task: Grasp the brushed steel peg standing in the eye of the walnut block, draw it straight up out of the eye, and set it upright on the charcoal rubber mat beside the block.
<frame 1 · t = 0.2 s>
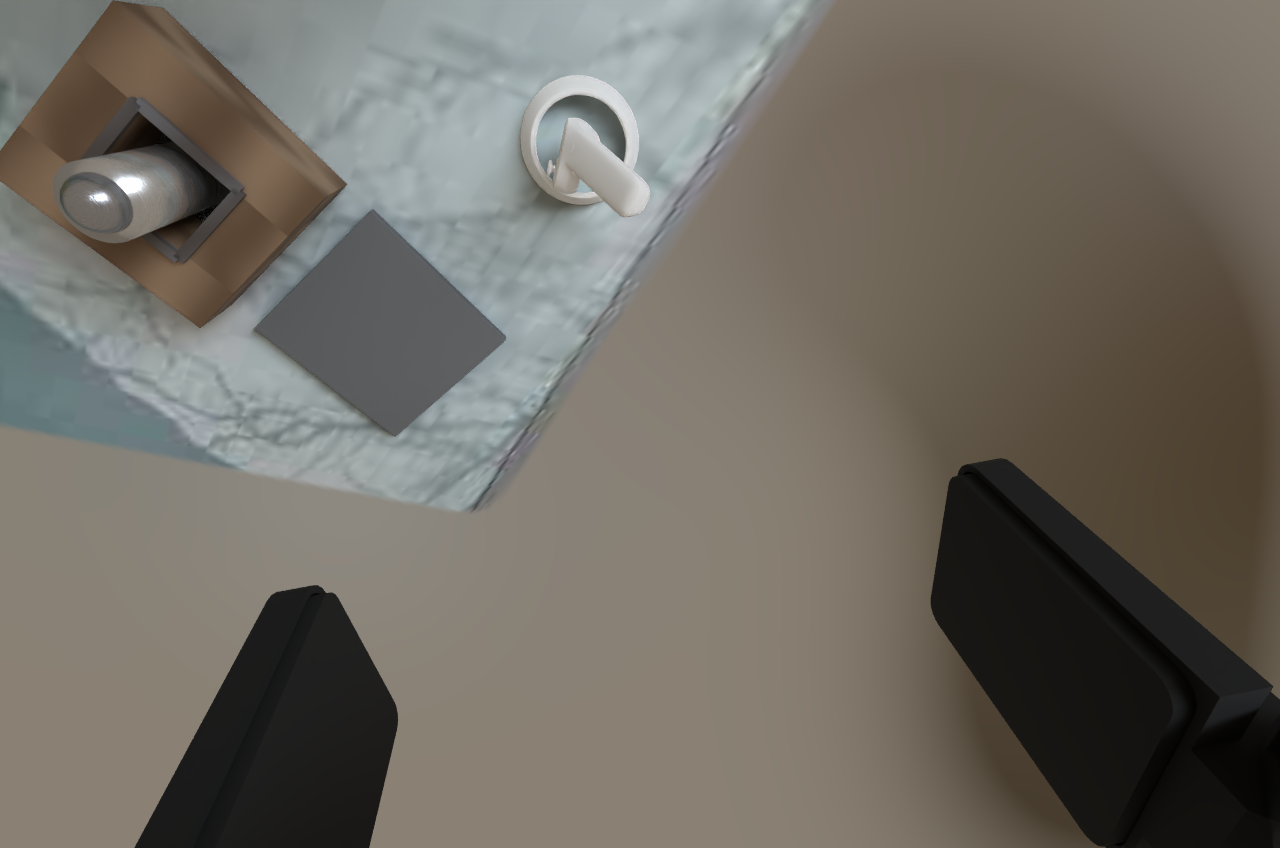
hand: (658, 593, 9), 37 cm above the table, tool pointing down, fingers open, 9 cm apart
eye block: (201, 172, 38), on the table
mat: (386, 330, 44), on the table
steel peg: (150, 187, 33), in the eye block
white ring with handle: (580, 142, 40), on the table
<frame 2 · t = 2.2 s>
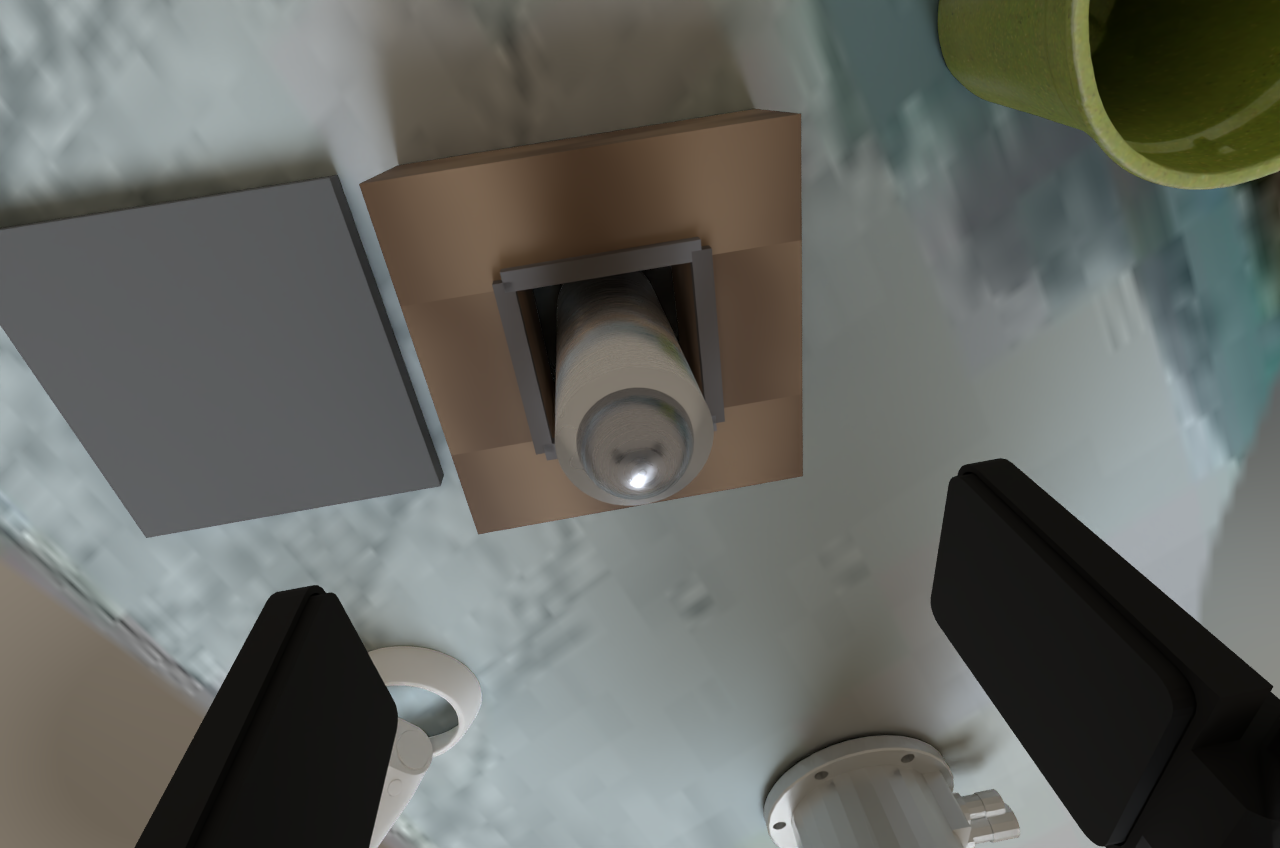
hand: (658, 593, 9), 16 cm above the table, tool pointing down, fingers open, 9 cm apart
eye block: (607, 309, 23), on the table
mat: (236, 371, 23), on the table
steel peg: (620, 368, 18), in the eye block
white ring with handle: (408, 693, 32), on the table
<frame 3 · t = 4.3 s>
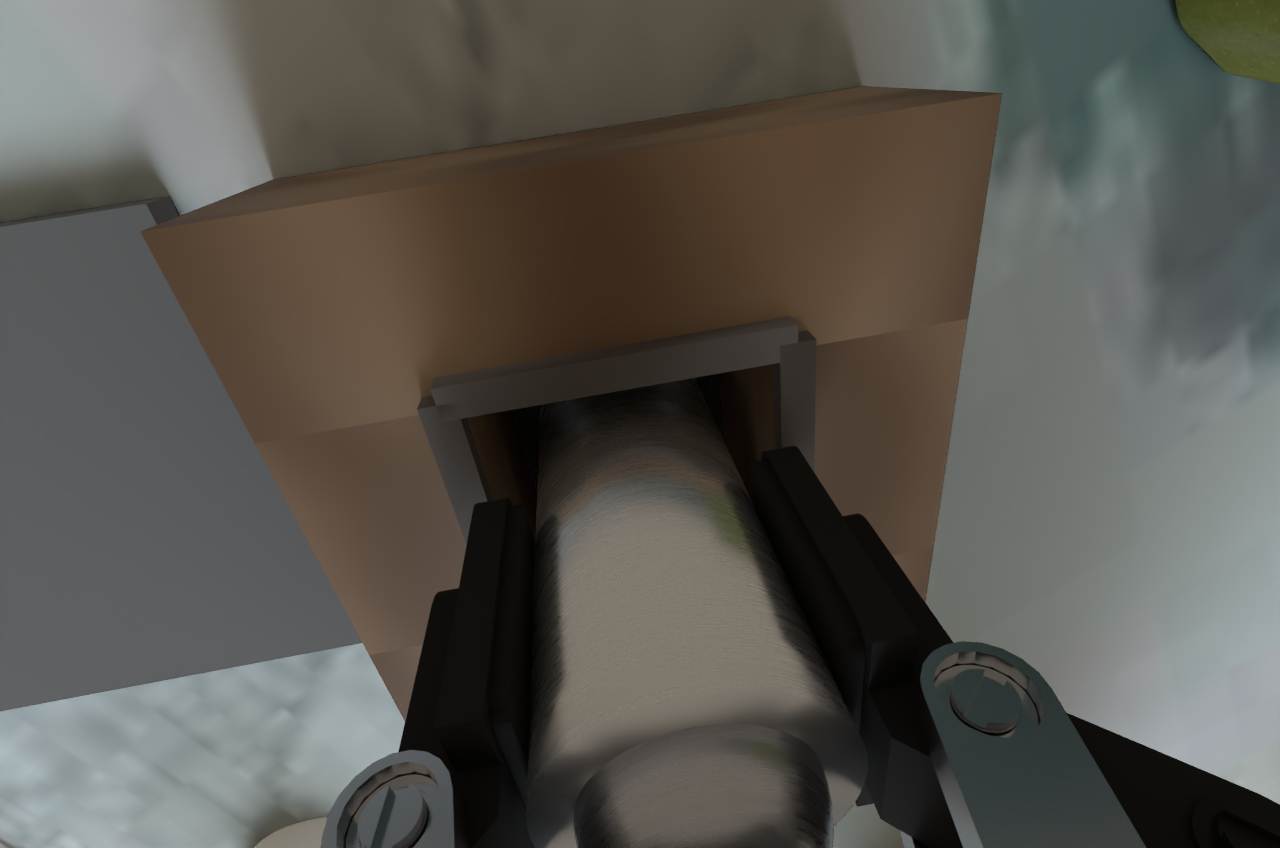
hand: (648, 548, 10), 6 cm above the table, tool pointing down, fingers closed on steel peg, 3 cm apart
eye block: (618, 393, 15), on the table
mat: (47, 494, 15), on the table
steel peg: (648, 544, 10), in the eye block, touching gripper
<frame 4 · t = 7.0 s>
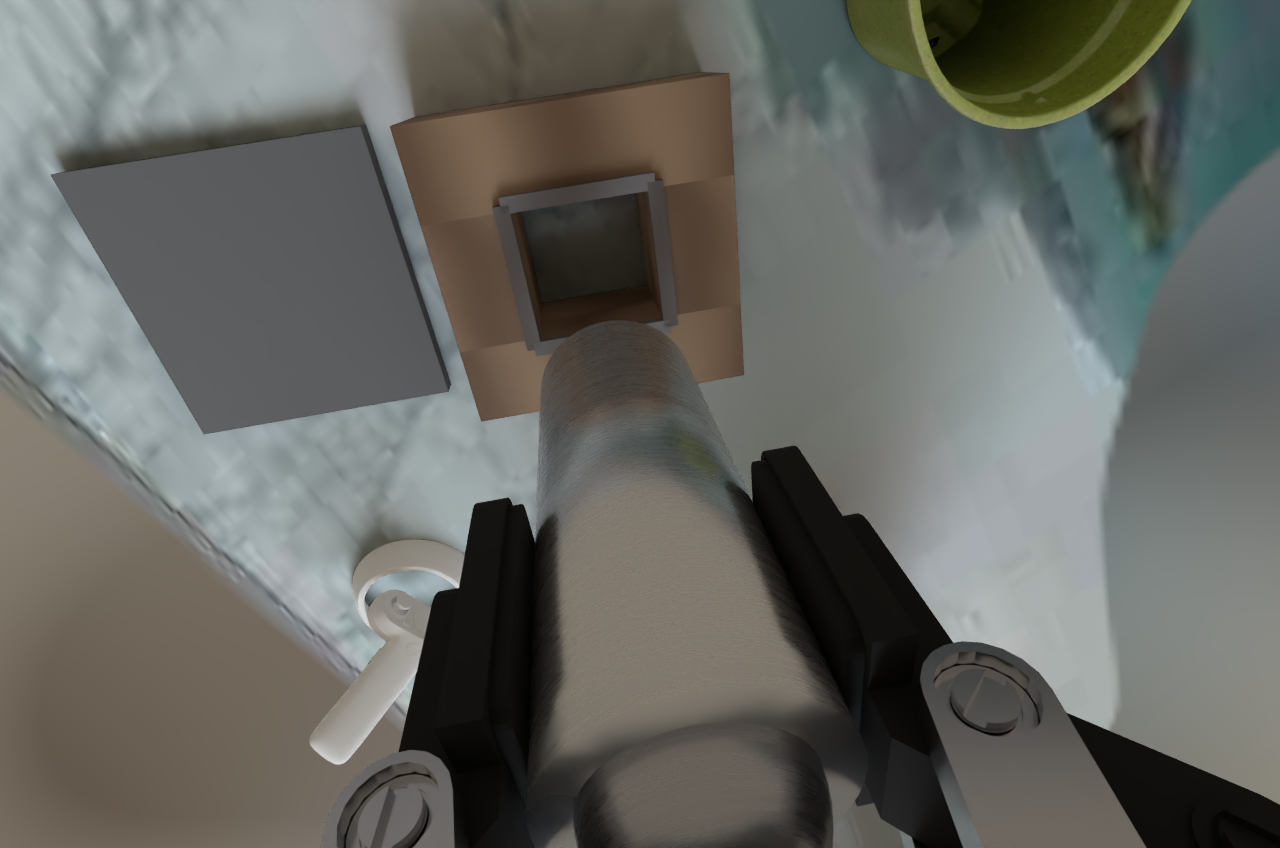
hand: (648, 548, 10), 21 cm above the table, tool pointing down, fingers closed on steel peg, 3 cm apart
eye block: (585, 240, 28), on the table
mat: (280, 290, 28), on the table
steel peg: (648, 543, 10), point 21 cm above the table, touching gripper
white ring with handle: (419, 584, 38), on the table
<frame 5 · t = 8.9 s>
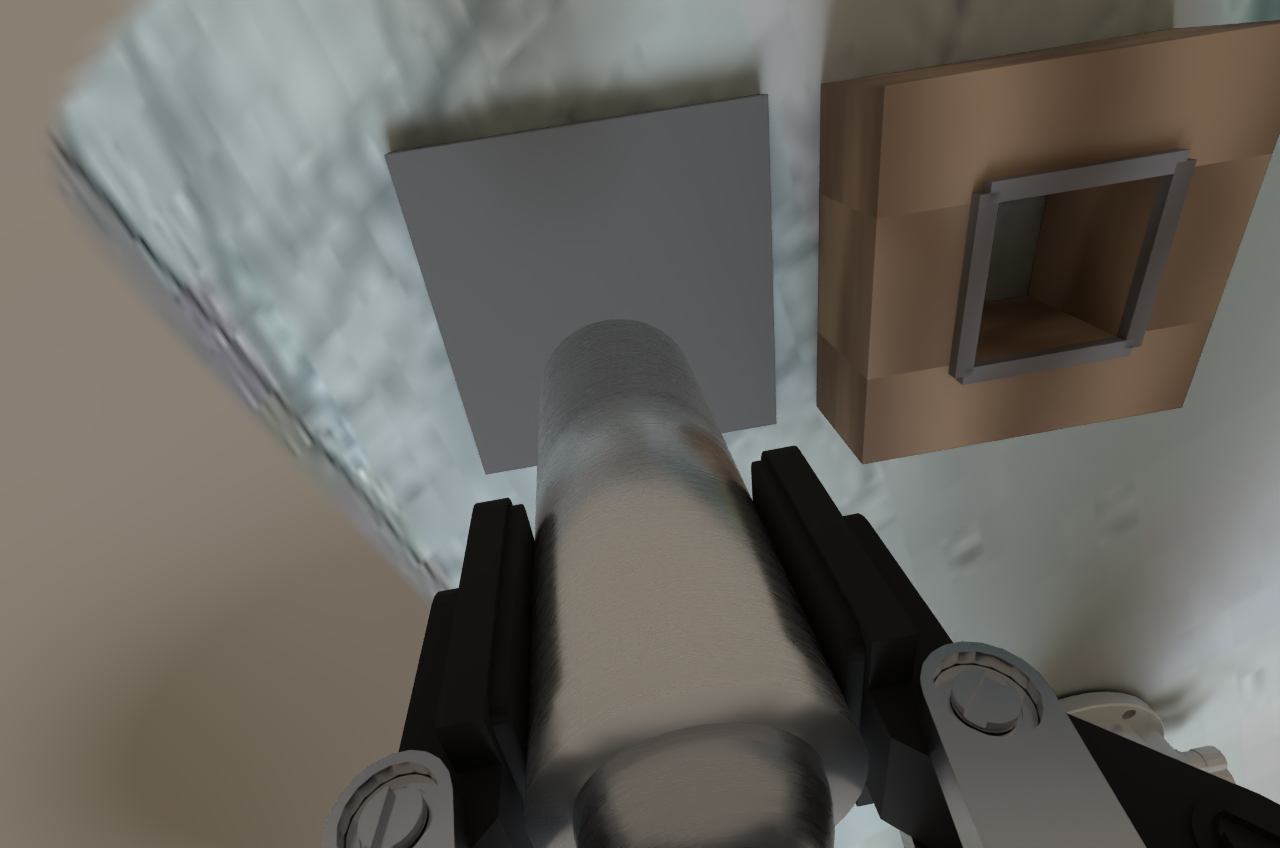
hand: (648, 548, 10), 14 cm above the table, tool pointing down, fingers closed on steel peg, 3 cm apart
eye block: (974, 240, 23), on the table
mat: (607, 301, 23), on the table
steel peg: (647, 542, 10), point 14 cm above the table, touching gripper
when the fingers open (8 cm above the table, at t = 10.1 s): steel peg drops 1 cm, resting on mat.
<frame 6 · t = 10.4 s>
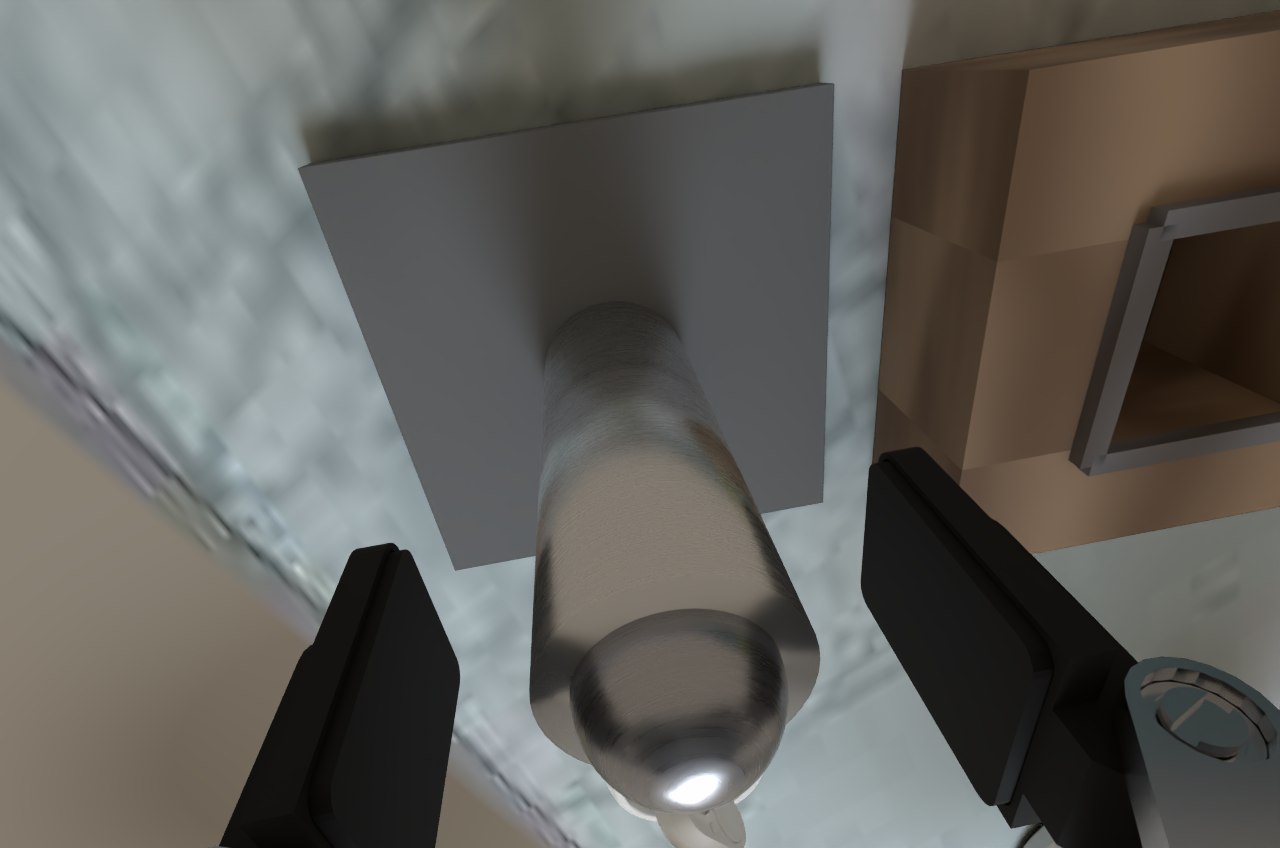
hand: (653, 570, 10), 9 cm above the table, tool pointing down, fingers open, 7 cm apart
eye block: (1083, 274, 18), on the table
mat: (610, 356, 17), on the table
steel peg: (639, 492, 12), on the mat, point 6 cm above the table
white ring with handle: (681, 740, 27), on the table
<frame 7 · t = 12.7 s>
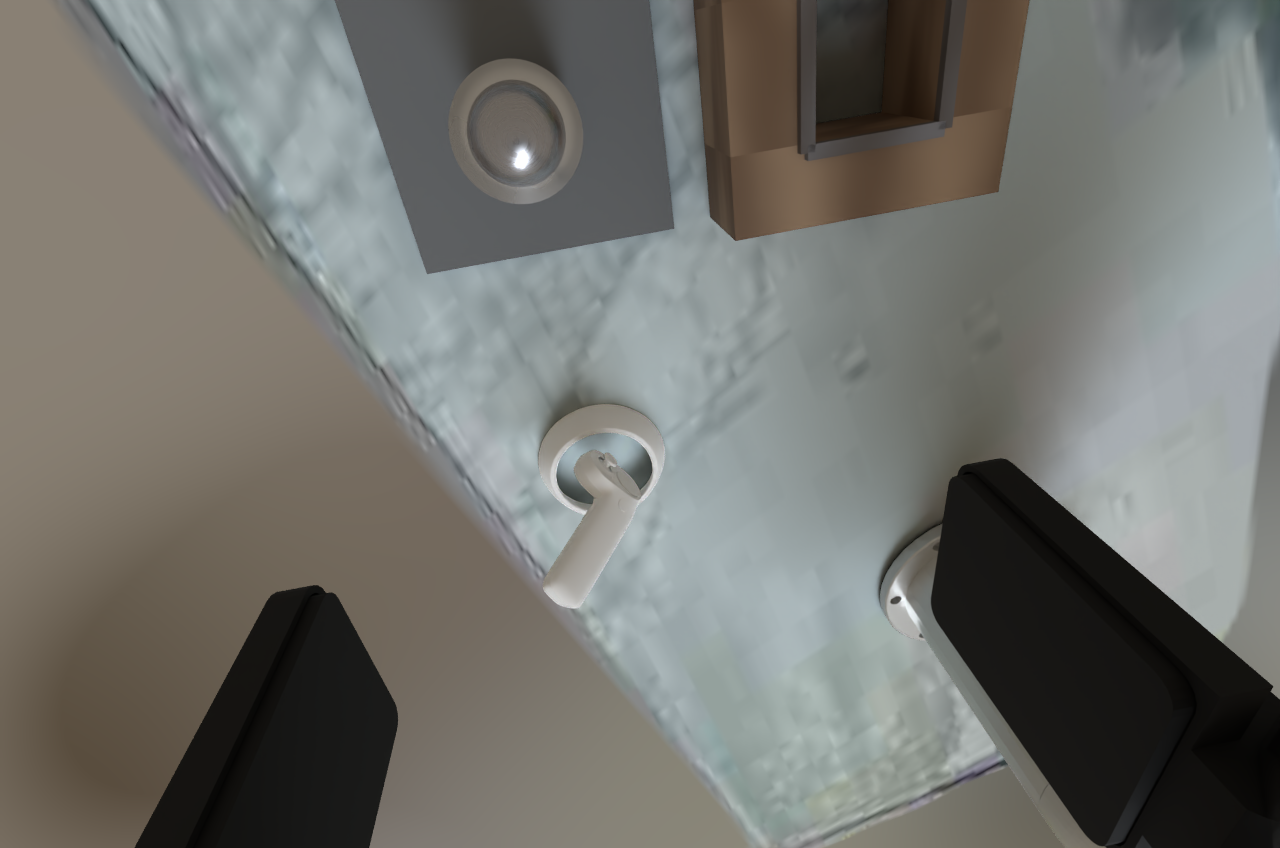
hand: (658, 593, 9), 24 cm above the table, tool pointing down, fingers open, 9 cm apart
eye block: (829, 57, 28), on the table
mat: (521, 111, 27), on the table
steel peg: (520, 123, 21), on the mat, point 6 cm above the table
white ring with handle: (601, 457, 37), on the table
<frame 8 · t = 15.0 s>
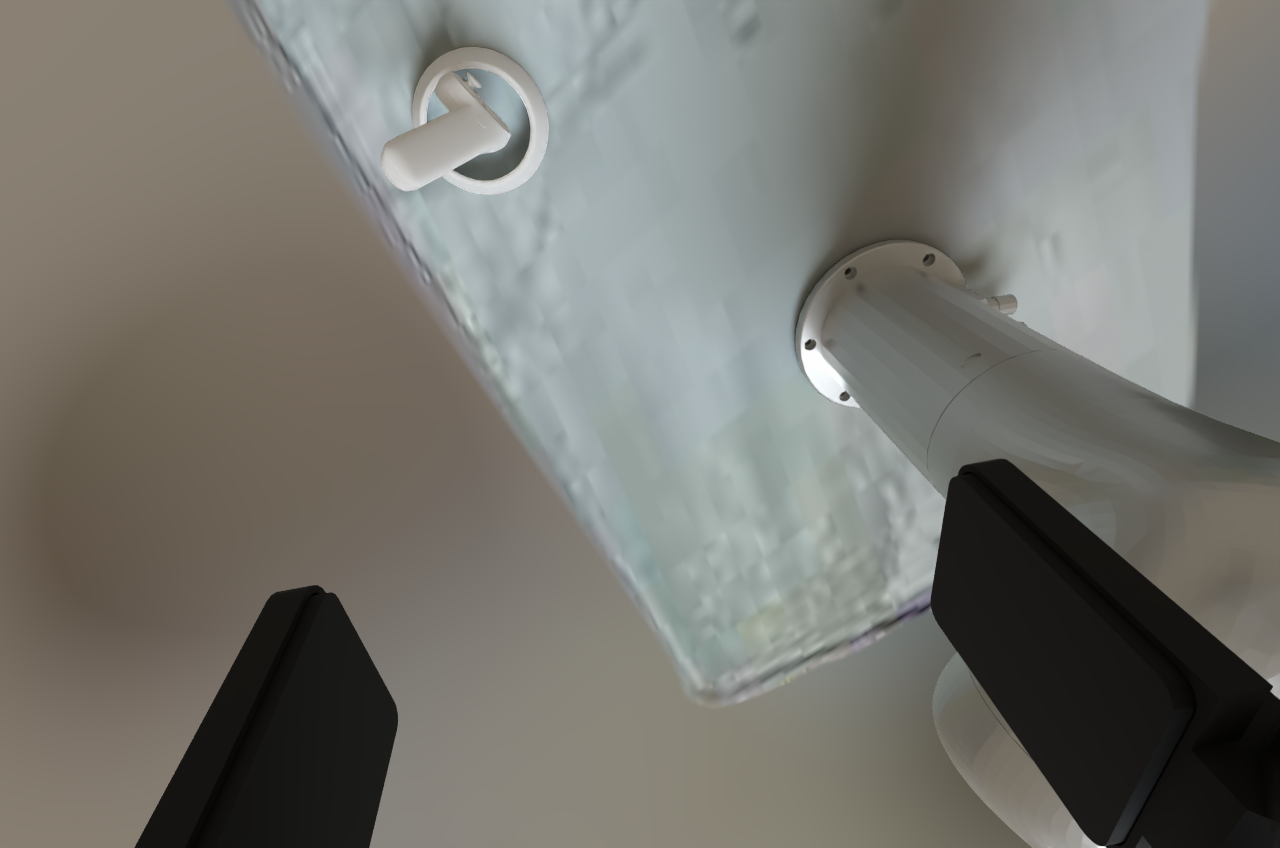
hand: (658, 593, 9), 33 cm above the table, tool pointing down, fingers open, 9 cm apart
white ring with handle: (481, 124, 36), on the table
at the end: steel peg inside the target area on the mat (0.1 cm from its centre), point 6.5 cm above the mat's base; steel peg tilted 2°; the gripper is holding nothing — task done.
